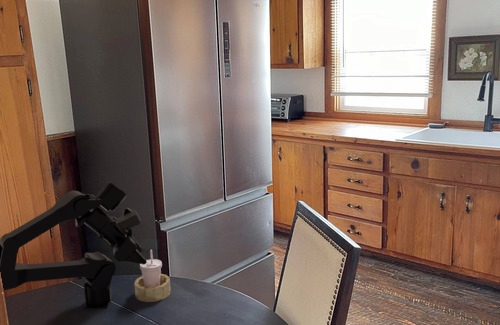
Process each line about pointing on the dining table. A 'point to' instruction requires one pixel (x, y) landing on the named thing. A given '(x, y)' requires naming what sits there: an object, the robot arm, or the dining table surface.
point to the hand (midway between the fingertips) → (143, 256)
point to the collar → (152, 290)
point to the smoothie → (151, 272)
